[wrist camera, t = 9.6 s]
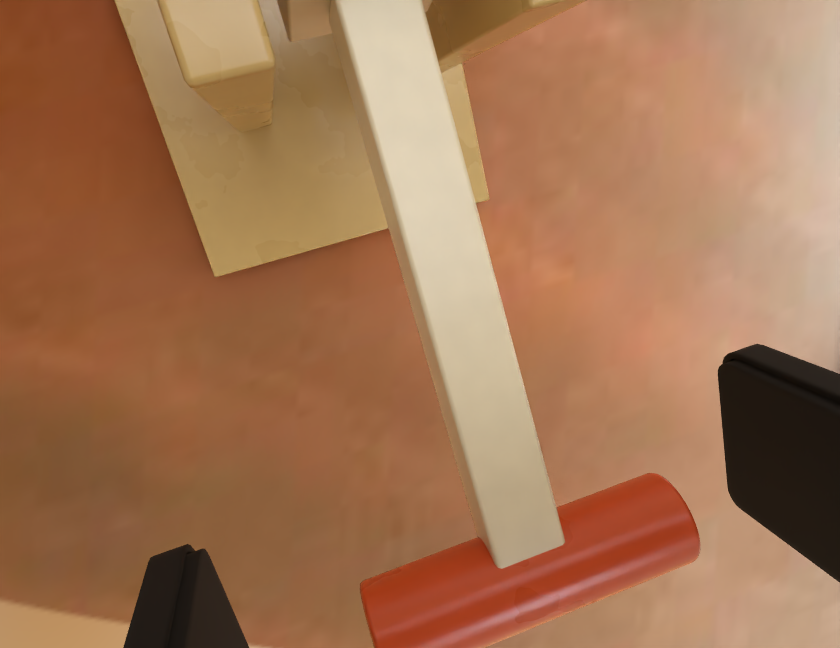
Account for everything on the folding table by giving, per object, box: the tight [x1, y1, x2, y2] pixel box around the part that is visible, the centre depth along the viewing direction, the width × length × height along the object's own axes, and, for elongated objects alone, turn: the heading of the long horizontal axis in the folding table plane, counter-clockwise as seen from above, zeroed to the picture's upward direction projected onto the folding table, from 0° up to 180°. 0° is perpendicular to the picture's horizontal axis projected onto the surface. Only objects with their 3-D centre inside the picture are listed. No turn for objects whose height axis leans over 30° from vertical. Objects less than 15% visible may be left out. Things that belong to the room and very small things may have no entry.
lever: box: [277, 0, 700, 648], centre depth 8 cm, size 12×5×2 cm, turn 14°
